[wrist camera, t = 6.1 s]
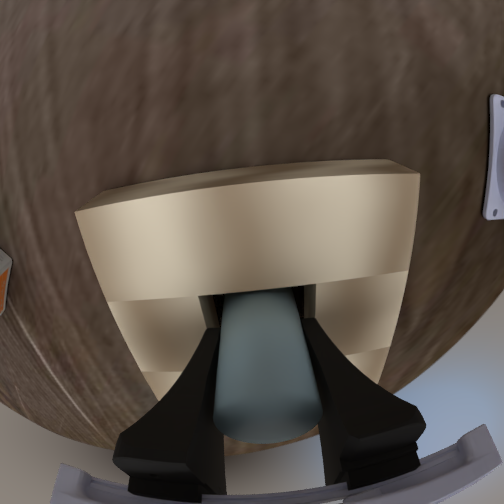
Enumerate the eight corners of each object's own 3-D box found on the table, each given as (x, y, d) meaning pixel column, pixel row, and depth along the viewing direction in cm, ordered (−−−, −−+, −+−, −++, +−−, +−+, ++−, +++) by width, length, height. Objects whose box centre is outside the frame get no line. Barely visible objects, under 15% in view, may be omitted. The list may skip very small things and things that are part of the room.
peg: (295, 269, 14) (330, 382, 8) (293, 327, 15) (316, 438, 9) (220, 274, 14) (204, 391, 8) (227, 331, 15) (220, 444, 9)
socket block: (387, 159, 12) (420, 173, 10) (362, 359, 19) (375, 391, 16) (104, 190, 13) (74, 211, 10) (172, 378, 19) (165, 411, 17)
